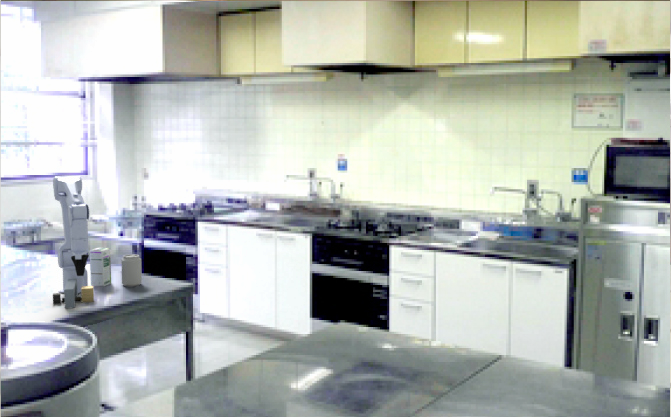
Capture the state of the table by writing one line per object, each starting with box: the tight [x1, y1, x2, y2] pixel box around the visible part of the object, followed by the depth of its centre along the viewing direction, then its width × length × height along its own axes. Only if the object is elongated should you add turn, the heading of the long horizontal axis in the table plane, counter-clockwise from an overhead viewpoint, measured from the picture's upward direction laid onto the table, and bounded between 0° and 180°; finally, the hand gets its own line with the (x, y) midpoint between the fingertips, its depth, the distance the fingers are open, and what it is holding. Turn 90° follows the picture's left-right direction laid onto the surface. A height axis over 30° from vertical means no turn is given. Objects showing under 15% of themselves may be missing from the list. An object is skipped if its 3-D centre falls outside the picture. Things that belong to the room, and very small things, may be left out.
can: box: [121, 253, 143, 288], centre depth 264 cm, size 8×8×12 cm
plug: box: [52, 285, 95, 305], centre depth 238 cm, size 14×4×5 cm, turn 110°
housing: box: [63, 279, 79, 309], centre depth 237 cm, size 3×17×7 cm, turn 18°
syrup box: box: [89, 247, 112, 287], centre depth 264 cm, size 6×6×14 cm
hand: (80, 275), depth 237 cm, fingers closed
